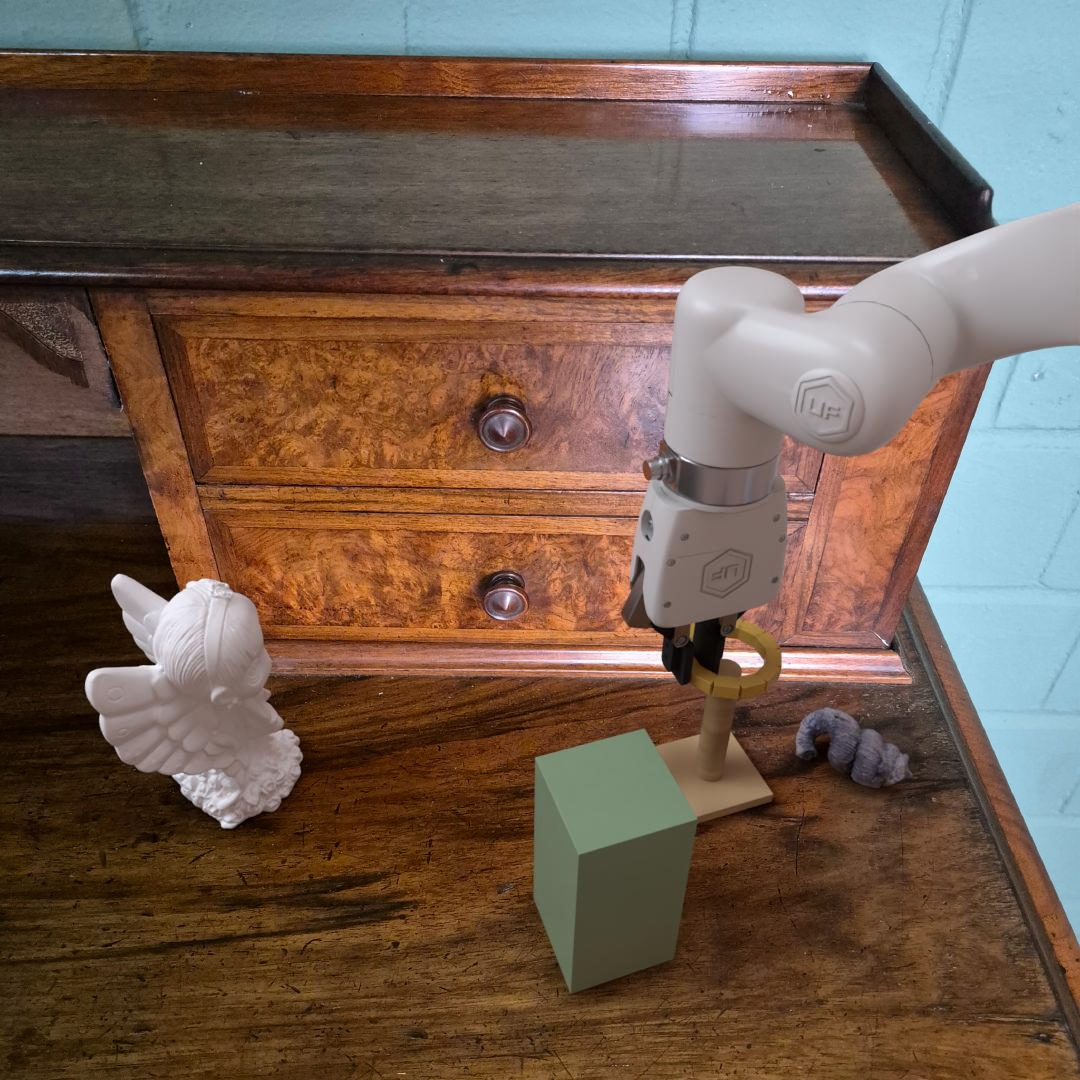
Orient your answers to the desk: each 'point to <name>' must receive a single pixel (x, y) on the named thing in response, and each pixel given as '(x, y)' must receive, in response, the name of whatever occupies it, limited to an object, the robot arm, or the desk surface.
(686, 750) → the post
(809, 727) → the seashell
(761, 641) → the ring
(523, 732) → the desk surface
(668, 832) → the stand
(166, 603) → the cherub figurine
